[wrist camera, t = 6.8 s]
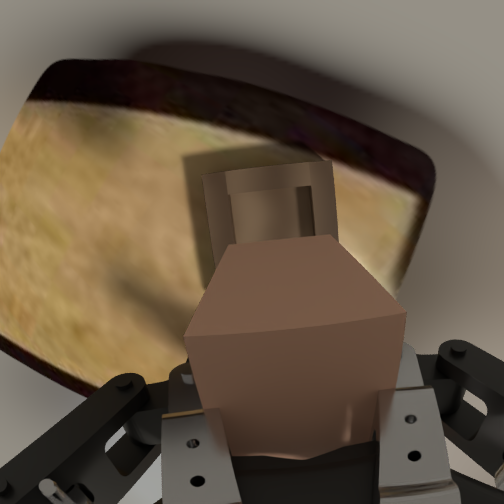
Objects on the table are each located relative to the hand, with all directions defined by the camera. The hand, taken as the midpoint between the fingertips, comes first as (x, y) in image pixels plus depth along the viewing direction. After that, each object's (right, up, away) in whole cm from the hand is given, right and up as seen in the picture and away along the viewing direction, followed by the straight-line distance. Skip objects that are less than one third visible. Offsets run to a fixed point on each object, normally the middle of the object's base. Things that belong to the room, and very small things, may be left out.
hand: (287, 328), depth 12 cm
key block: (0, 0, +1) cm, 1 cm away
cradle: (+1, +5, +17) cm, 17 cm away
